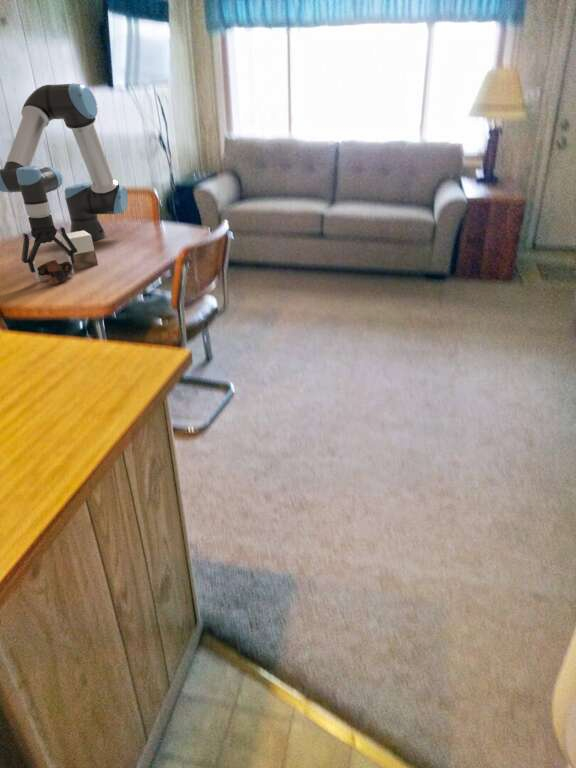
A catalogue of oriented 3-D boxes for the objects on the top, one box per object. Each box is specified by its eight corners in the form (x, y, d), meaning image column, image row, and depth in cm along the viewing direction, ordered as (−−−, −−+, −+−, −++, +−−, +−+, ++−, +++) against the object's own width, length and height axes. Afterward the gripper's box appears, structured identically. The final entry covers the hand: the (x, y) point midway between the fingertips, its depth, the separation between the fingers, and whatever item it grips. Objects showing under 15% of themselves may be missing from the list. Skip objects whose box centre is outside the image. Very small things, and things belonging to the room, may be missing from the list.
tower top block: (87, 245, 216) (83, 230, 213) (94, 250, 209) (91, 234, 206) (64, 249, 211) (60, 234, 208) (70, 255, 205) (66, 239, 202)
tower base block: (90, 260, 219) (87, 245, 216) (98, 265, 213) (94, 250, 210) (67, 264, 215) (64, 249, 212) (75, 270, 208) (71, 254, 205)
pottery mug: (46, 288, 191) (33, 267, 189) (48, 292, 200) (35, 272, 198) (78, 273, 194) (65, 252, 193) (78, 278, 203) (66, 257, 202)
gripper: (70, 207, 195) (84, 266, 206) (0, 219, 183) (18, 281, 194) (77, 211, 190) (91, 271, 201) (5, 223, 178) (24, 286, 189)
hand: (55, 276), depth 198 cm, fingers closed on pottery mug, 11 cm apart
